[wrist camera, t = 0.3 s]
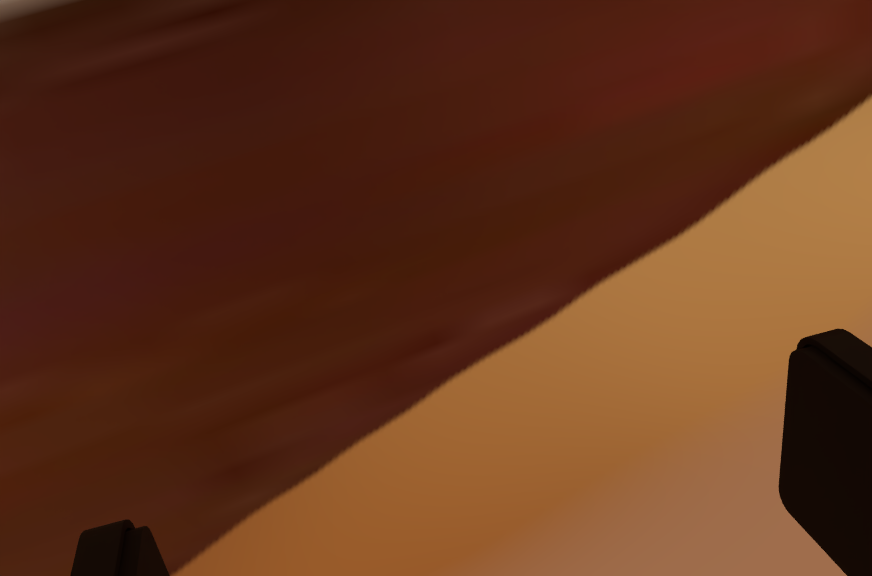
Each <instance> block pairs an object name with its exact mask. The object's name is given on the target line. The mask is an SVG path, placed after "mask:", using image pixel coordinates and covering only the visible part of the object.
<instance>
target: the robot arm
mask: <svg viewBox="0 0 872 576" xmlns="http://www.w3.org/2000/svg"><path fill="white" fill-rule="evenodd" d="M784 416H785V417H784V428H783V440H782V452H781V464H780V478H779V493H780V497H781V500H782V503H783V504H784V506H785V508H786V510H787V511H788V512H789V513H790V514H791V516H792V517H793V518H795V520H796V521H797V522H798V523H799V524H800V525H801V526H802V527H803V528H804V529H805V531H806V532H807V533H808V534H809V535H810V536H811V537H812V538H813V539H814V540H815V541H816V543H818V545H819V546H820V547H821V548H822V549H823V550H824V551H825V552H826V553H827V554H828V555H829V557H830V558H831V559H832V560H833V561H834V562H835V563H836V564H837V565H838V566H839V567H840V568H841V569H842V571H843V572H844V573H845V574H846V575H847V576H872V347H870V346H869V345H867V344H866V343H864V342H863V341H862V340H860V339H859V338H857V337H856V336H854V335H853V334H851V333H850V332H848V331H846V330H844V329H835V330H831V331H827V332H823V333H820V334H816V335H812V336H809V337H805V338H803V339H801V340H800V342H799V343H798V345H797V349H796V350H795V351H793V352H792V353H791V355H790V358H789V366H788V379H787V390H786V403H785V415H784ZM71 576H169V573H168V571H167V568H166V566H165V564H164V561H163V559H162V557H161V554H160V552H159V549H158V547H157V545H156V542H155V540H154V538H153V535H152V533H151V531H150V529H149V528H148V527H147V526H143V527H140V528H136V529H135V527H134V525H133V523H132V522H131V521H130V520H122V521H119V522H115V523H111V524H107V525H104V526H100V527H96V528H93V529H89V530H85V531H83V532H82V533H81V535H80V538H79V541H78V546H77V550H76V554H75V559H74V563H73V567H72V572H71Z"/></svg>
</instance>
